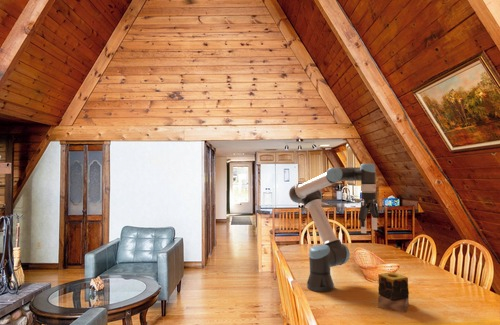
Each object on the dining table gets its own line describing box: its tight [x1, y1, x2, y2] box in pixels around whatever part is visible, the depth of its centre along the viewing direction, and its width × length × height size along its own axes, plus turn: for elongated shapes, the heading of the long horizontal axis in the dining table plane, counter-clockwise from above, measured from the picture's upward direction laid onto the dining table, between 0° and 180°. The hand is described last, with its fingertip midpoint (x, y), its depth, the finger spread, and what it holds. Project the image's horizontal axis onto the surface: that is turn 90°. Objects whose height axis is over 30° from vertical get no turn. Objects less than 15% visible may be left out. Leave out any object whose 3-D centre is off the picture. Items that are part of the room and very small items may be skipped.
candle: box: [377, 271, 410, 301], centre depth 163 cm, size 10×10×10 cm
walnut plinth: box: [377, 295, 410, 313], centre depth 162 cm, size 12×12×5 cm
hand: (369, 231), depth 179 cm, fingers open, 13 cm apart
